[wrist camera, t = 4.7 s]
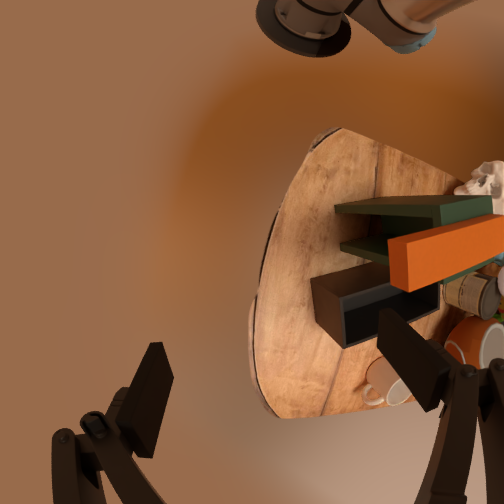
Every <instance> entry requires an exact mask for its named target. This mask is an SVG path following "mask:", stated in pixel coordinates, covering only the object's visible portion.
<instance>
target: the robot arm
mask: <svg viewBox="0 0 504 504" xmlns="http://www.w3.org/2000/svg"><path fill="white" fill-rule="evenodd" d="M474 1H476V0H278V1H277V3H276V5H275V8H274V15H275V18H276V20H277V22H278V23H279V24H280V25H281V26H282V27H283V28H284V29H285V30H286V31H288V32H289V33H291V34H292V35H294V36H297V37H299V38H302V39H305V40H309V41H324V40H327V39H330V38H331V37H333V36H334V34H335V33H336V32H337V31H338V29H339V26H340V21H341V16H342V12H344V13H345V14H346V15H348V16H349V17H351V18H352V19H354V20H355V21H357V22H358V23H359V24H361V25H362V26H363V27H365V28H366V29H367V30H369V31H370V32H371V33H372V34H374V35H375V36H376V37H377V38H378V39H380V40H381V41H382V42H383V43H384V44H385V45H387V46H389V47H390V48H391V49H393V50H394V51H395V52H397V53H400V54H408V53H412V52H415V51H417V50H419V49H420V47H421V46H425V45H426V44H427V43H428V42H429V41H430V40H431V39H432V38H433V37H434V35H435V33H436V24H437V18H439V17H441V16H443V15H445V14H447V13H449V12H451V11H454V10H456V9H458V8H460V7H462V6H465V5H467V4H469V3H471V2H474ZM377 348H378V349H379V350H380V352H381V353H382V354H383V356H384V357H385V358H386V360H387V361H388V362H389V364H390V365H391V366H392V368H393V369H394V370H395V372H396V373H397V374H398V376H399V377H400V378H401V380H402V381H403V382H404V384H405V385H406V386H407V388H408V389H409V390H410V392H411V393H412V394H413V396H414V397H415V399H416V400H417V401H418V403H419V404H420V405H421V407H422V408H423V410H424V411H425V412H429V411H431V410H433V409H435V408H437V407H438V405H439V402H440V400H442V401H443V402H444V406H443V409H442V411H441V413H440V416H439V418H441V419H440V423H439V427H438V432H437V436H436V440H435V443H434V447H433V451H432V455H431V457H430V461H429V464H428V467H427V470H426V473H425V476H424V479H423V482H422V485H421V487H420V490H419V493H418V495H417V498H416V500H415V503H414V504H466V502H467V496H465V495H464V492H465V488H466V484H467V479H468V475H469V470H470V465H471V460H472V454H473V448H474V440H475V433H476V424H477V417H478V422H479V427H480V433H481V439H482V446H483V454H484V463H485V473H486V491H487V504H504V359H502V358H495V359H492V360H491V361H490V364H489V366H488V368H483V369H477V368H476V367H475V366H473V365H470V364H463V365H462V364H461V363H460V362H459V361H458V360H456V359H455V358H454V357H453V356H452V355H451V354H450V353H449V352H448V351H447V350H446V349H445V348H443V346H442V345H441V344H439V343H438V342H436V341H434V340H432V339H429V340H425V339H424V338H423V337H422V336H421V335H420V334H418V333H417V332H416V331H415V330H414V329H413V328H412V327H411V326H410V325H409V324H408V323H407V322H406V321H405V320H404V319H402V318H401V317H400V316H399V315H398V314H397V313H396V312H395V311H394V310H393V309H392V308H390V307H389V308H385V309H381V310H380V311H379V326H378V338H377ZM173 379H174V376H173V373H172V370H171V367H170V364H169V362H168V359H167V355H166V352H165V349H164V346H163V343H162V342H153V343H150V345H149V347H148V349H147V351H146V353H145V355H144V357H143V359H142V361H141V363H140V365H139V368H138V370H137V372H136V374H135V376H134V378H133V380H132V383H131V385H130V387H122V388H121V389H120V390H119V391H117V392H116V394H115V396H114V398H113V401H112V402H111V404H110V406H109V408H108V410H107V412H106V414H105V415H104V414H103V413H101V412H99V411H92V412H88V413H87V414H85V415H84V416H83V417H82V418H81V420H80V426H81V428H82V429H83V431H84V432H85V434H79V435H75V434H74V432H73V431H72V430H71V429H68V428H62V429H60V430H58V431H56V432H55V433H54V435H53V437H52V489H53V502H54V504H107V503H106V499H105V495H104V490H103V486H102V481H101V475H100V471H103V470H104V471H105V473H106V475H107V477H108V479H109V481H110V482H111V484H112V486H113V488H114V489H115V491H116V493H117V494H118V496H119V498H120V499H121V501H122V503H123V504H166V503H165V502H164V500H163V499H162V498H161V496H160V495H159V494H158V493H157V491H156V490H155V489H154V488H153V486H152V485H151V484H150V482H149V481H148V480H147V478H146V477H145V475H144V474H143V473H142V471H141V470H140V468H139V467H138V465H137V464H136V462H135V461H134V460H133V458H132V454H133V451H134V452H135V454H136V455H137V456H138V457H140V458H153V454H154V450H155V446H156V442H157V438H158V435H159V431H160V427H161V423H162V419H163V416H164V412H165V408H166V404H167V401H168V397H169V394H170V390H171V386H172V383H173Z"/></svg>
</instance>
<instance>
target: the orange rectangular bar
mask: <svg viewBox="0 0 504 504" xmlns="http://www.w3.org/2000/svg"><path fill="white" fill-rule="evenodd" d="M388 250H389V264H390V282H391V285H392V286H395V287H397V288H399V289H402V290H404V291H406V292H412V291H414V290H417V289H419V288H422V287H425V286H427V285H430V284H432V283H435V282H437V281H440V280H442V279H445V278H447V277H449V276H452V275H454V274H456V273H459V272H461V271H463V270H466V269H468V268H470V267H472V266H475V265H477V264H479V263H481V262H483V261H486V260H488V259H490V258H492V257H494V256H496V255H498V254H500V253H502V252H504V215H500V214H487V215H483V216H480V217H476V218H472V219H468V220H464V221H460V222H456V223H453V224H449V225H445V226H441V227H437V228H433V229H429V230H425V231H421V232H417V233H413V234H408V235H404V236H400V237H396V238H392V239H388Z"/></svg>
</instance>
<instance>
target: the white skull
mask: <svg viewBox="0 0 504 504" xmlns="http://www.w3.org/2000/svg"><path fill="white" fill-rule="evenodd" d="M471 175H472V179H471V180H470V181H468V182H465V185H462V186H458V187H456V188H455V189H454V195H492V203H493V214H500V215H504V162H502V161H493V162H484V163H483V164H482V165H481V166H480V167H478V168H477V169H474V170H473V171H472V172H471Z"/></svg>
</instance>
